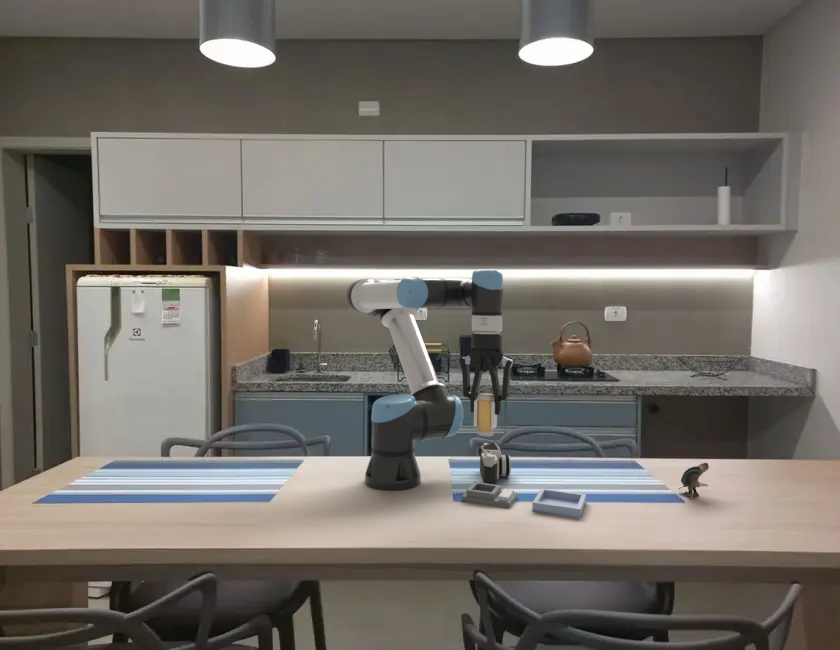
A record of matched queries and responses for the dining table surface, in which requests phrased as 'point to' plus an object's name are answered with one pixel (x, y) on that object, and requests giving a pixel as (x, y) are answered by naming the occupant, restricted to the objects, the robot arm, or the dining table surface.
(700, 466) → the eagle figurine
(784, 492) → the dining table surface
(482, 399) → the fuse
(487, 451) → the camera
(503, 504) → the fuse block
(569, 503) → the parts tray
